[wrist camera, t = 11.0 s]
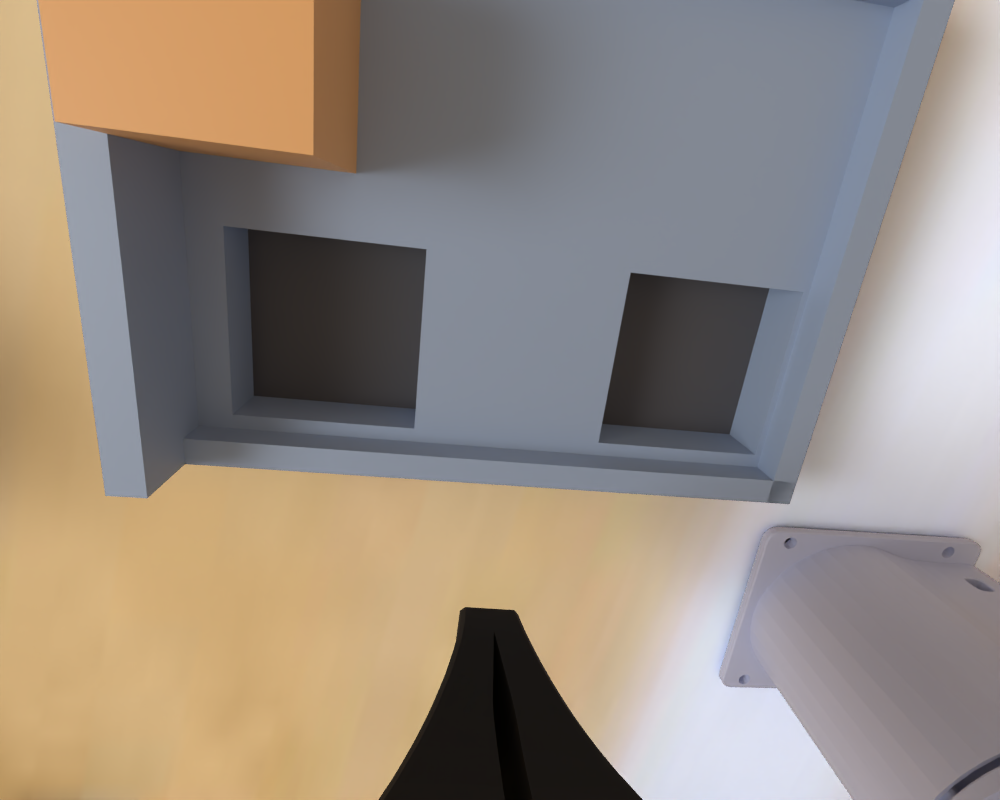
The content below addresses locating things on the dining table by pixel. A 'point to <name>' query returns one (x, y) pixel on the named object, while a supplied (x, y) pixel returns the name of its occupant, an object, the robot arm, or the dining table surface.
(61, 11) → the block
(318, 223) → the tray
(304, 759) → the dining table surface
